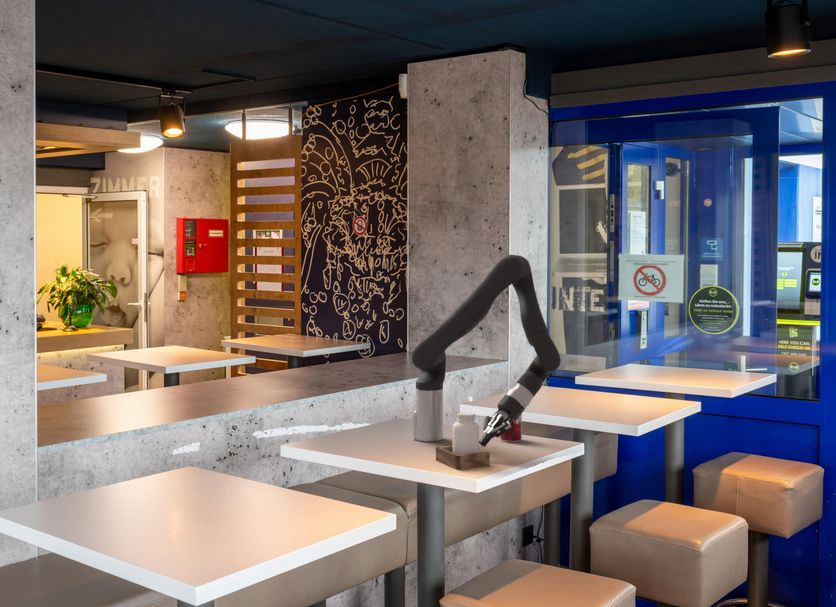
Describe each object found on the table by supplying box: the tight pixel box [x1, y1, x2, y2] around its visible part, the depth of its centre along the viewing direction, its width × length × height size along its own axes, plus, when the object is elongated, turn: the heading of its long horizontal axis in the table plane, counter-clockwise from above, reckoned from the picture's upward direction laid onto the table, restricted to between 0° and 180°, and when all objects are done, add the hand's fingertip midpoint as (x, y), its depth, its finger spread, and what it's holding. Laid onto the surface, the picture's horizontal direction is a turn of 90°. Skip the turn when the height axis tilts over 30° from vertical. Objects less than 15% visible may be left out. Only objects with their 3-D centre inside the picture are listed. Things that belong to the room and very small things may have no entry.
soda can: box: [499, 413, 523, 443], centre depth 306 cm, size 7×7×12 cm
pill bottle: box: [452, 411, 480, 455], centre depth 275 cm, size 8×8×15 cm
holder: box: [435, 444, 491, 471], centre depth 275 cm, size 11×13×4 cm
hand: (481, 444), depth 277 cm, fingers closed
